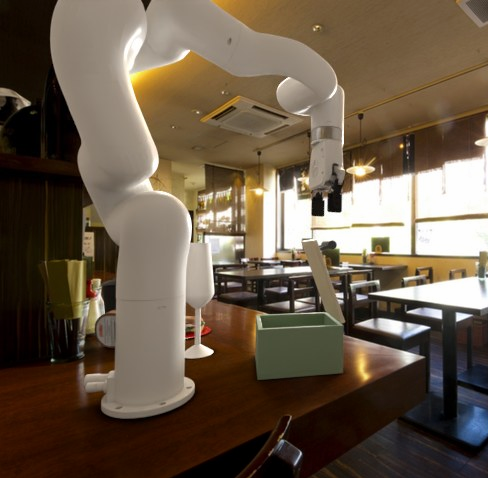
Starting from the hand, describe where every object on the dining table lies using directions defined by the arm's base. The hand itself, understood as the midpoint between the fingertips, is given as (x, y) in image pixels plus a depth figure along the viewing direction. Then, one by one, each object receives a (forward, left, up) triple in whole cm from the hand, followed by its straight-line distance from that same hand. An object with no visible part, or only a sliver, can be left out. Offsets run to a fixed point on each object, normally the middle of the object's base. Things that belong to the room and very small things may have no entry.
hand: (325, 214), depth 75 cm
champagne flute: (-28, +3, -31) cm, 42 cm away
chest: (-8, -8, -31) cm, 33 cm away
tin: (-44, +10, -31) cm, 55 cm away
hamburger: (-34, +21, -31) cm, 51 cm away
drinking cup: (-50, +22, -31) cm, 63 cm away
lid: (-3, -8, -14) cm, 16 cm away
